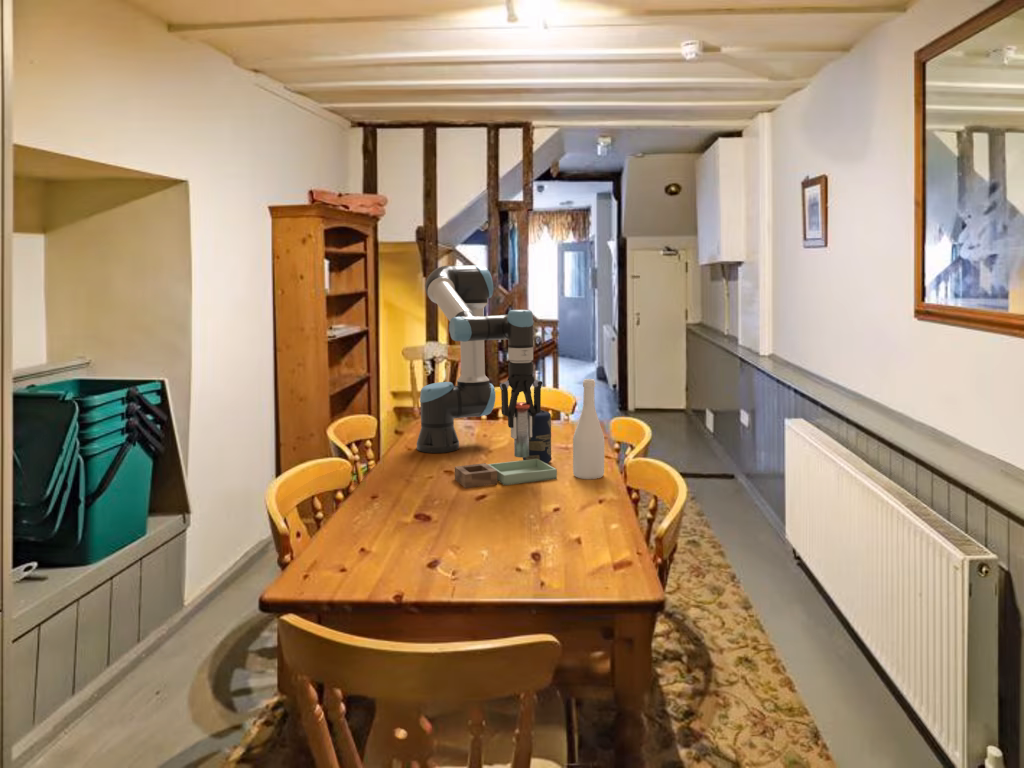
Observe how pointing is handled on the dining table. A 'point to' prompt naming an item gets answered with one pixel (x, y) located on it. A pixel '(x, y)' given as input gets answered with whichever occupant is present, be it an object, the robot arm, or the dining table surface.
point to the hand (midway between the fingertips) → (521, 436)
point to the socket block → (475, 475)
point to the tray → (523, 471)
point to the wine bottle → (588, 439)
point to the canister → (540, 438)
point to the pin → (522, 430)
